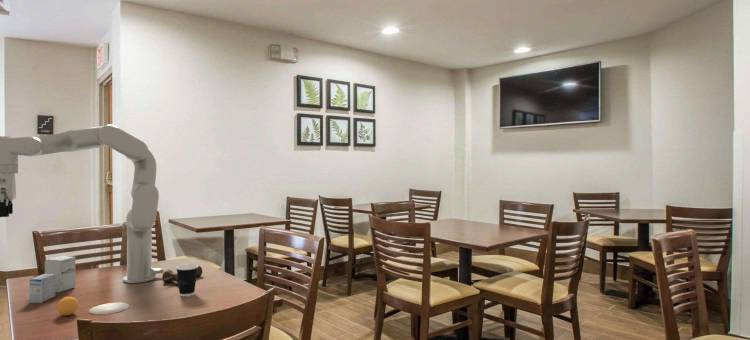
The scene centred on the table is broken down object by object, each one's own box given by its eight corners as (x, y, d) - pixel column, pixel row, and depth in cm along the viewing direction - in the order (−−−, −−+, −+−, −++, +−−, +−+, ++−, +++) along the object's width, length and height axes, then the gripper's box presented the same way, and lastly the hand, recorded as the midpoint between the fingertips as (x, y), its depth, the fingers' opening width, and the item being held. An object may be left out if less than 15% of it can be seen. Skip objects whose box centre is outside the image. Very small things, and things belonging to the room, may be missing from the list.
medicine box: (43, 296, 168) (43, 273, 168) (55, 296, 168) (55, 273, 168) (29, 303, 160) (28, 279, 160) (42, 303, 161) (42, 279, 160)
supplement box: (59, 292, 173) (59, 260, 172) (44, 291, 174) (43, 259, 174) (76, 287, 180) (76, 256, 180) (60, 286, 181) (60, 255, 181)
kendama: (207, 278, 199) (172, 289, 180) (190, 276, 202) (154, 286, 184) (207, 265, 199) (172, 274, 180) (190, 263, 202) (154, 272, 184)
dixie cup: (197, 290, 178) (197, 263, 178) (198, 296, 171) (198, 267, 170) (175, 293, 174) (175, 265, 174) (176, 299, 167) (176, 269, 167)
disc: (127, 301, 164) (127, 300, 164) (130, 310, 154) (130, 310, 154) (88, 306, 157) (88, 306, 157) (89, 317, 147) (89, 316, 147)
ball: (78, 310, 153) (78, 293, 153) (78, 315, 148) (78, 298, 148) (57, 313, 150) (57, 296, 150) (56, 319, 145) (56, 301, 145)
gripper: (15, 170, 160) (15, 217, 161) (20, 169, 175) (20, 212, 175) (-13, 170, 156) (-13, 218, 157) (-4, 168, 171) (-4, 213, 171)
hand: (5, 215), depth 166 cm, fingers open, 9 cm apart
